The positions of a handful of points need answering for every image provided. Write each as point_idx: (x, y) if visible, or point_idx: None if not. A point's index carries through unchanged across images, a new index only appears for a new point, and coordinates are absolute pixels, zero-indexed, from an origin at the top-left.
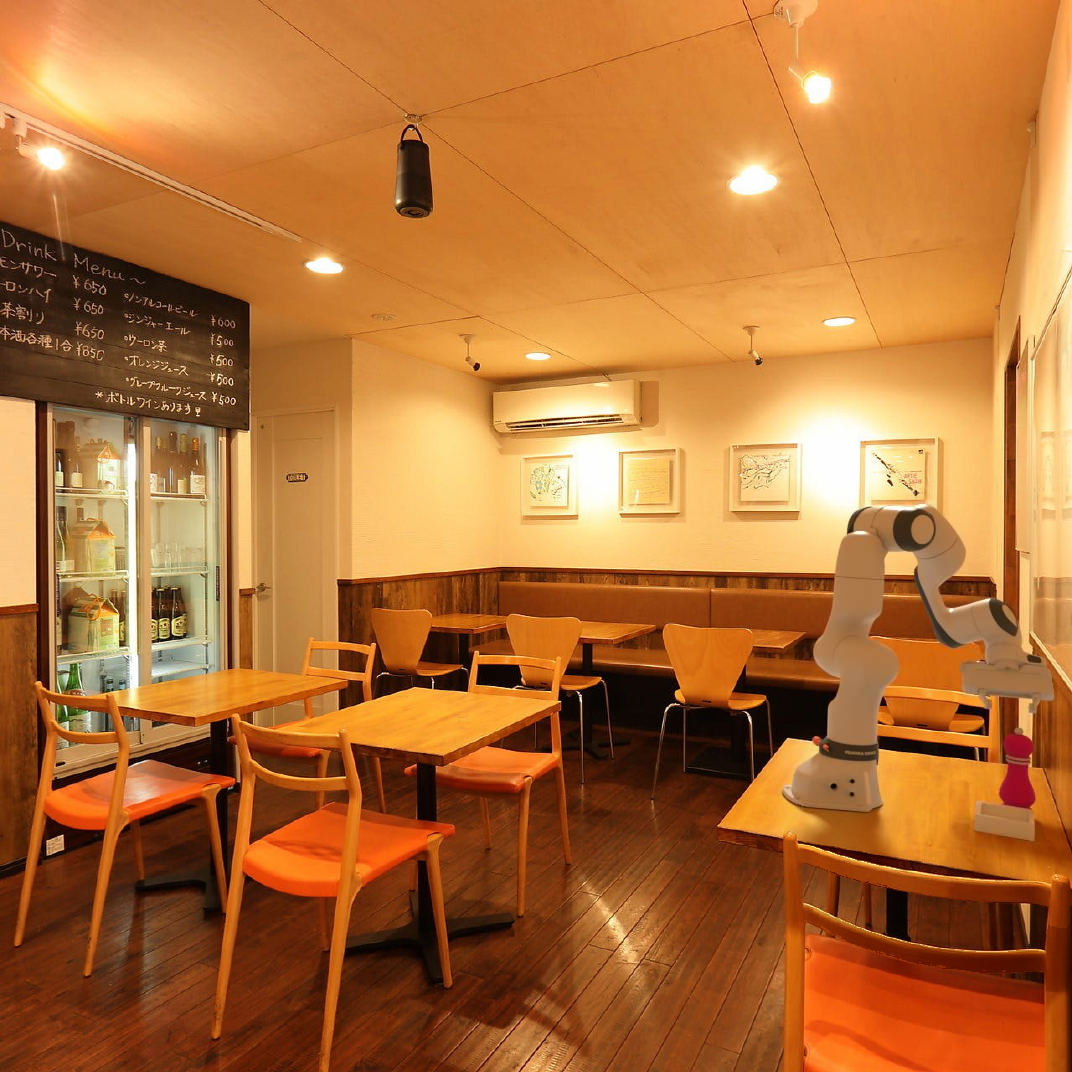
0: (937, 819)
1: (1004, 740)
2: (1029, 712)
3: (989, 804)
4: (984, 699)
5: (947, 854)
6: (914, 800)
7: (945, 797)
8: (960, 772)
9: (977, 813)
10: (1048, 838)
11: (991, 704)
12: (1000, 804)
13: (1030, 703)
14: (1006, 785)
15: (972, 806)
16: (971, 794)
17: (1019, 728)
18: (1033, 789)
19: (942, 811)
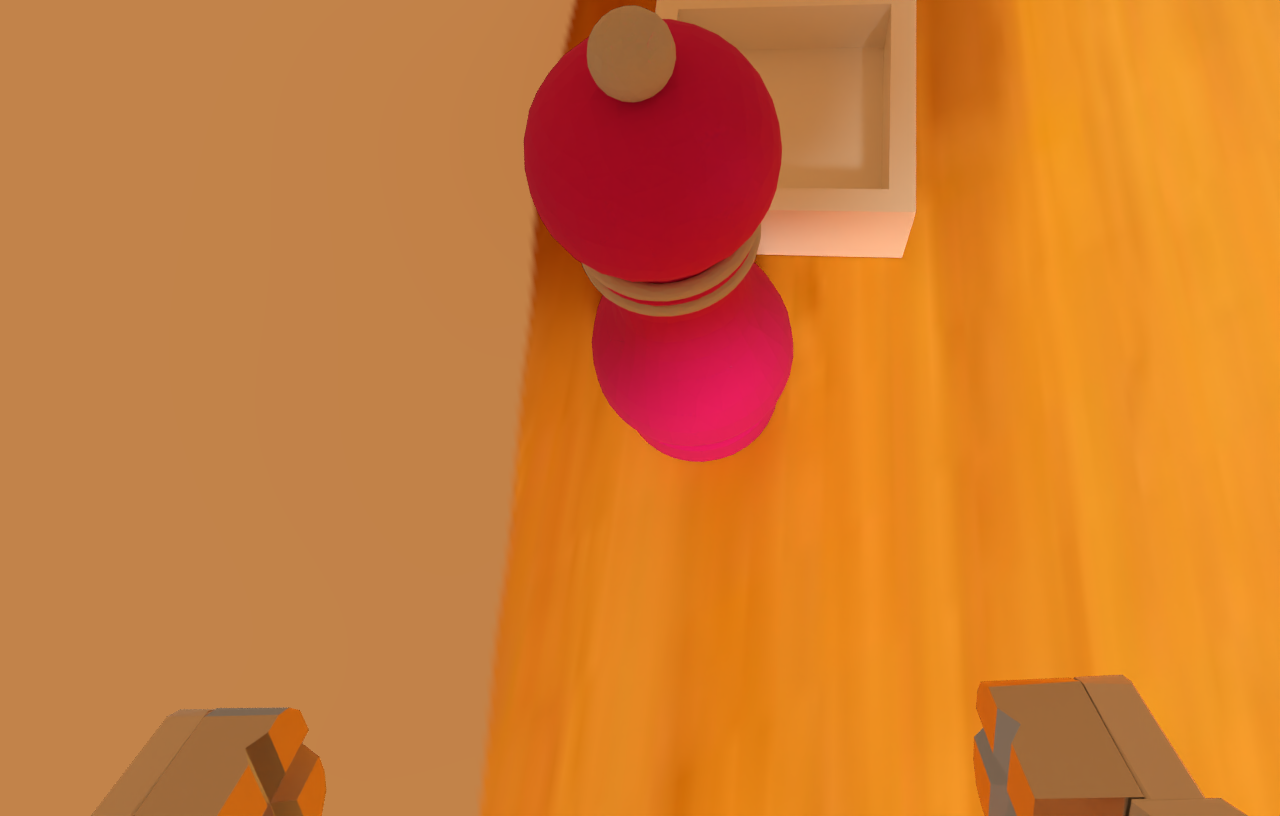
0: (1079, 104)
1: (774, 116)
2: (320, 775)
3: (846, 190)
4: (1213, 806)
5: None
6: (1260, 358)
7: (1095, 528)
8: None
9: (904, 1)
10: None
11: (1002, 689)
12: (790, 207)
13: (198, 813)
14: (754, 264)
15: (926, 420)
16: (944, 698)
17: (624, 6)
18: (597, 313)
19: (1074, 240)
